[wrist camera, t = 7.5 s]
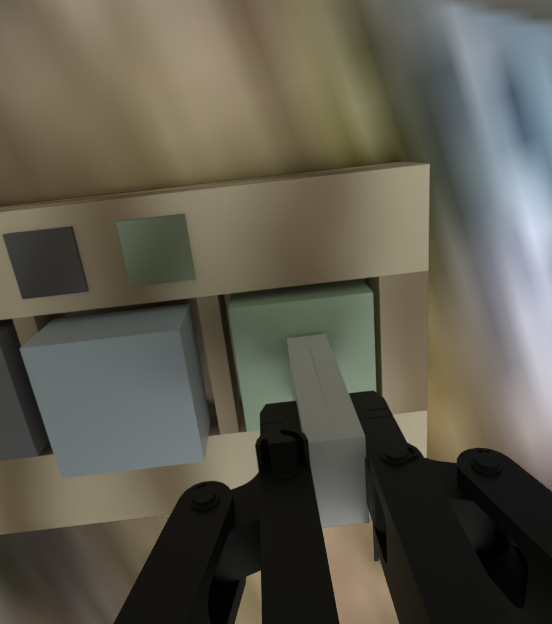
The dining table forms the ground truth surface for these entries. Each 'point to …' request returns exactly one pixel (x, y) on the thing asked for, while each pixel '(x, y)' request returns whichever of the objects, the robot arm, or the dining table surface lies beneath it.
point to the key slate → (120, 390)
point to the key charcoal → (17, 402)
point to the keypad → (214, 304)
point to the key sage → (296, 323)
